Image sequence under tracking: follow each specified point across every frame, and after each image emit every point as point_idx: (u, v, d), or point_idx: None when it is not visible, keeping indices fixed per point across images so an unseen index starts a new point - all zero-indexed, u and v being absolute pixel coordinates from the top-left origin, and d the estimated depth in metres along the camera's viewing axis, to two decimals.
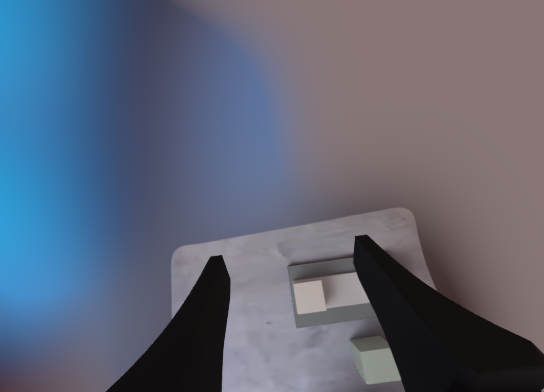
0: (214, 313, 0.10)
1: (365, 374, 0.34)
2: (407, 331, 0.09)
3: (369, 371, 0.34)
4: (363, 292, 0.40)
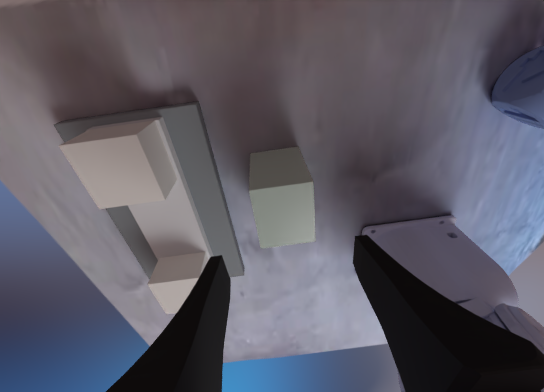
0: (214, 313, 0.10)
1: (299, 241, 0.17)
2: (407, 331, 0.09)
3: (294, 236, 0.17)
4: None
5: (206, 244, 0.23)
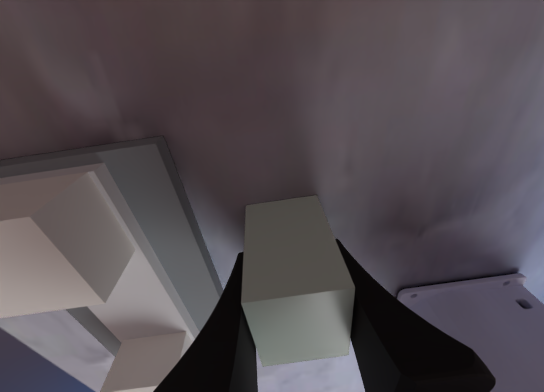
0: None
1: (322, 356, 0.11)
2: (364, 337, 0.09)
3: (315, 351, 0.11)
4: None
5: (187, 322, 0.16)
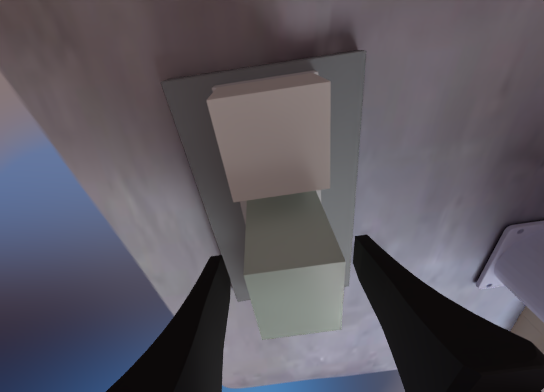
0: (214, 313, 0.10)
1: (317, 330, 0.12)
2: (407, 331, 0.09)
3: (311, 325, 0.12)
4: None
5: None
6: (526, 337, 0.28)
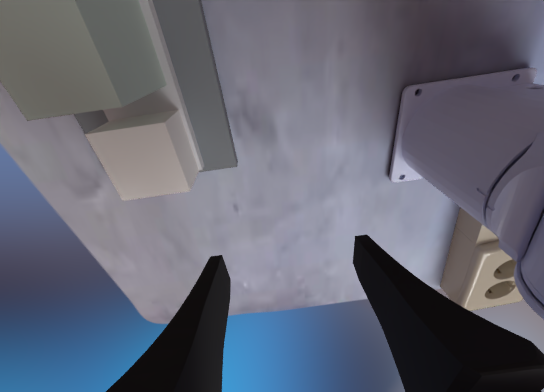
0: (214, 313, 0.10)
1: (93, 107, 0.10)
2: (407, 331, 0.09)
3: (76, 93, 0.09)
4: None
5: (179, 97, 0.15)
6: (461, 252, 0.26)
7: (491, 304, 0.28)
